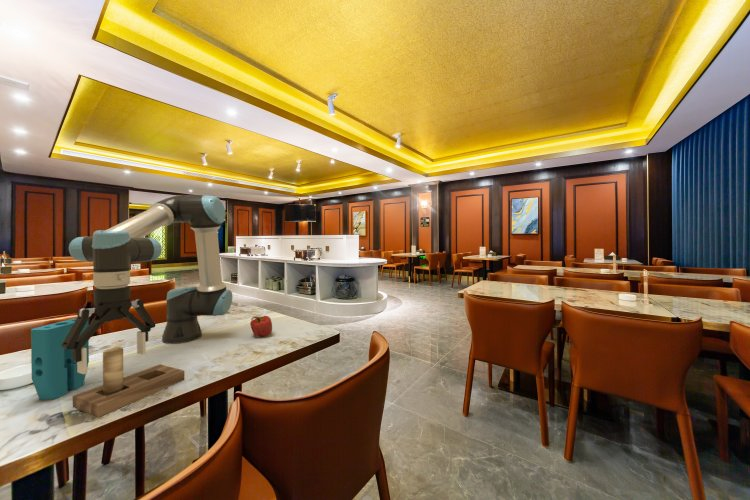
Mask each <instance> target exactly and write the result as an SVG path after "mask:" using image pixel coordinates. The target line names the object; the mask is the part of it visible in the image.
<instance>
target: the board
mask: <svg viewBox="0 0 750 500" xmlns="http://www.w3.org/2000/svg"><path fill="white" fill-rule="evenodd" d="M182 381H185V370H183V369H179V368H176V367H173V366H169V365H164V364H161V363H160V364H157V365H154V366H151V367H149V368H146V369H143V370H140V371H137V372H134V373H132V374H130V375H126V376H123V385H124V388H123V389H122V391H120V392H117V393H115V394H112V395H110V396H105V394H104V393H103V384H101V385H98V386H96V387H93V388H90V389H88V390H85V391H82V392H79V393H76V394H73V395H72V408H75V409H77V410H80V411H82V412H84V413H86V414H90V415H92V416H94V417H96V418H101V417H103V416H106V415H107V414H110V413H112V412H114V411H116V410H119V409H121V408H123V407H125V406H128V405H130V404H132V403H135V402H137V401H139V400H141V399H144V398H146V397H148V396H150V395H151V396H152V395H153V394H155V393H158V392H159V391H160V392H161V391H162V390H165V389H166V388H169V387H172V386H174V385H176V384H178V383H180V382H182Z"/></svg>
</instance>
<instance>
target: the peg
mask: <svg viewBox="0 0 750 500" xmlns="http://www.w3.org/2000/svg"><path fill="white" fill-rule="evenodd" d="M123 377H124V348H123V347H115V348H109V349H106V350H104V351H102V385H103V393H104V394H105V396H110V395H112V394H115V393H117V392H120V391H122V389H123V388H124V385H123Z"/></svg>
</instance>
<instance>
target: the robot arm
mask: <svg viewBox="0 0 750 500" xmlns="http://www.w3.org/2000/svg"><path fill="white" fill-rule="evenodd" d="M225 220H226V208H225V205H224V203H223V202H222V200H221V199H220V198H219V197H218V196H215V195H207V194H205V195H202V194H201V195H199V194H198V195H194V194H192V195H190V194H189V195H188V194H187V195H186V194H180V195H179V194H177V195H173V196H170V197H167V198H164V199H161V200H159V201H156V202H154V203H152V204H151V205H150V206H149V207H148V208H147V210H145V211H142V212H140V213H137V214H136V215H135V216H132V217H130V218H128V219H126V220H124V221H122V222H120V223H118V224H116V225H114V226H111V227H110V228H108V229H105V230H99V229H98V230H95V231H94V232H93V234H92V236H88V235H86V236H78V237H75V238H74V239H72V240H71V241H70V242H69V244H68V251H69V254H70V256H71V258H73V259H74V260H76V261H78V262H89V263H92V264H93V270H92V271H93V272H92V274H93V276H92V279H93V284H92V285H93V287H95V289H93V302H94V303H93V304H94V306H93V308H84V307H83V308H79V309H78V310H77V316H76V317H77V319H76V321H75V322H74V324H73V326H72V328H71V329H70V331H69V333H68V335H67V337H66V338H65V340H64V342H63V344H62V345H61V347H62V348H65V349H68V350H69V349H72V357H73V358H72V359H73V361H74V362H77V371H78V373H81V374H88V367H87V348H85V347H83V346H84V345H85V344H86V342H87V341H88V340H89V341H90V339H91V338H92V336H94V334H95V333H96V332H98V331H97V330H98V329H99V328H100V327H101V326H102V325H104V324H105V323H106V322H107V323H108V322H109V323H110V322H114V321H116V320H123V318H124V319H125V320H127V321H128V322H129V323H130V324H132V325H133V326H134V327H136V329H138V330H139V331H137V332H136V354H138V355H142V356H143V355H146V354H147V352H146V351H147V349H146V347H147V346H146V345H147V344H146V343H147V342H148V341H149V333H150V332H151V331H152V329H153V328H155V327H156V323H155V322H154V320H153V318H152V317H151V315H150V314H149V312H148V311H147V310H146V308H145V305H144V304H145V303H144V300H142V299H137V298H135V299H133V300H132V301H131V286H130V284H131V264H133V263H134V264H135V263H143V262H146V263H148V262H151V261H155V260H158V258H160V256H161V254H162V251H163V249H162V244H161V243H160V241H158V240H157V239H156V238H152V237H148V235H150V234H151V233H153V232H155V231H156V230H158V229H160V228H162V227H168V226H170V225H172V224H175V223H176V224H177V223H185V224H186V223H188V224H189V229H191V230H193V232H194V239H195V246H196V255H197V256H196V257H197V258H196V259H197V264H198V275H199V285H198V286H196V285H193V286H184V287H179V288H178V287H177V288H174V289H170V290H169V291H167V293H166V324H165V328H164V330H163V334H162V336H161V341H162V343H165V344H181V343H187V342H191V341H195V340H198V339H200V338H201V337H202V335H203V332H202V328H201V326H200V323H199V320H198V316H199V317H200V316H205V317H207V316H209V317H211V316H213V317H216V316H218V317H219V316H224V315H226V314H227V313H228V312H229V310H230V309H231V306H232V303H233V292H232V291H231V290H230V289H227V284H226V283H225V282H223V279H222V269H221V267H222V266H221V258H220V257H221V256H220V247H219V246H220V245H219V235H218V234H219V233H218V230H219V229H220V228H221V225H222V223H224V222H225ZM131 308H134V309H135V311H136V312H137V314H138V315H139V317H140V319H141V320H142V321H141V320H140V319H139V318H137V317H136V316H135V315H134V314H133V313H131V312H130V310H131ZM92 314H94V315H95V316H94V317H93V318H92V319H91V322H90V323H88V327H87V328H86V329H85V330H84V331H83V332H82V334H81V335H80V333H81V331H82V330H83V328H84V326H85V324H86V322H87V320H88V321H89V318H90V317H91V316H92ZM79 335H80V336H79Z"/></svg>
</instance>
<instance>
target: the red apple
mask: <svg viewBox="0 0 750 500" xmlns="http://www.w3.org/2000/svg"><path fill="white" fill-rule="evenodd" d="M250 320H251V321H250V322H249V323H250V328H251V330H252V334H253V336H255V338H259V337H268V336H269V335H271V333H272V331H273V322H272V319H271V317H270V316H268V315H262V316H252V317H251V318H250Z"/></svg>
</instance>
